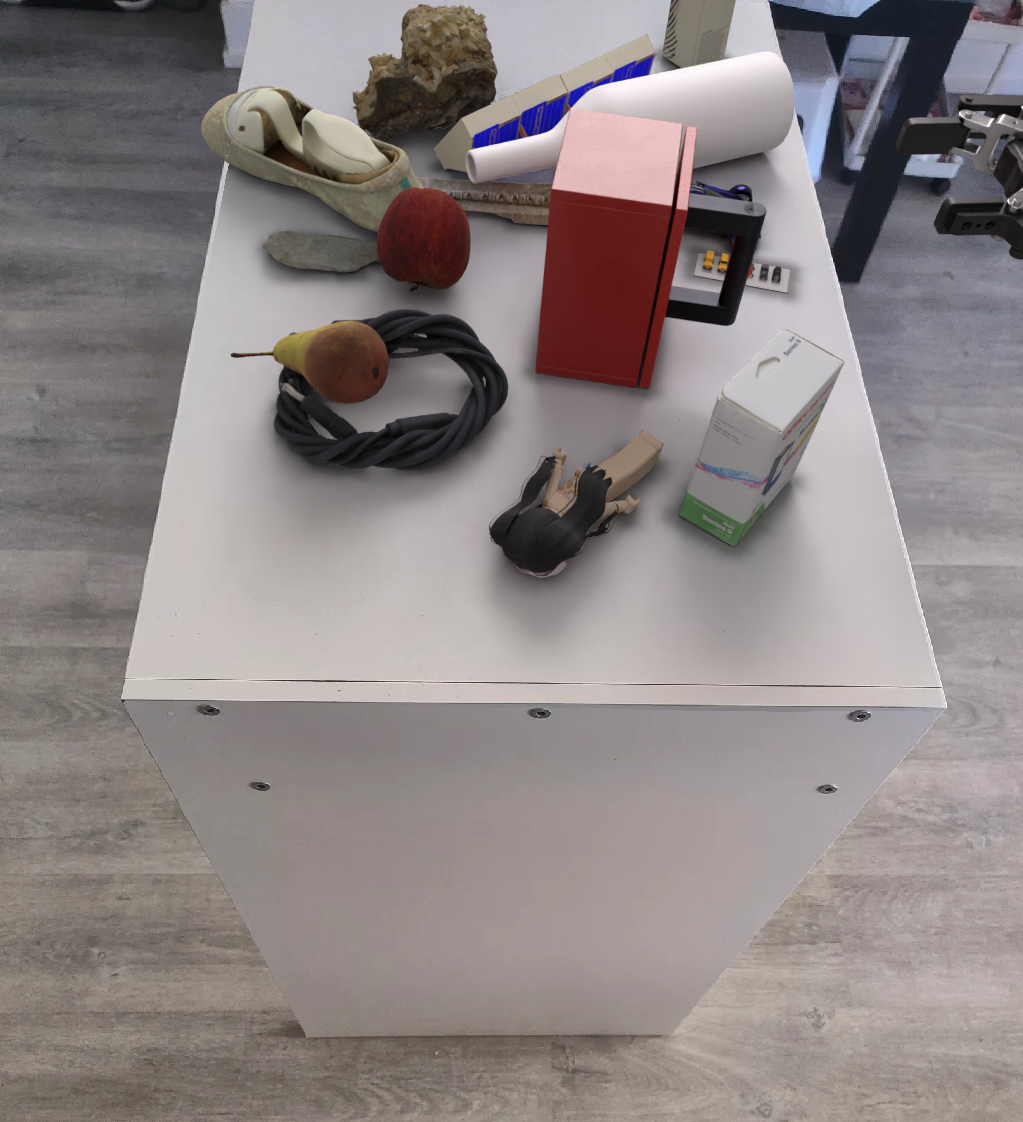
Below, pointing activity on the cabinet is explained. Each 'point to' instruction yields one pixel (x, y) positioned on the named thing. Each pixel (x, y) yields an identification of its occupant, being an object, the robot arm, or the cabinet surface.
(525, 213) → the fossil
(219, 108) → the ballet flat
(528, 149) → the bottle
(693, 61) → the box
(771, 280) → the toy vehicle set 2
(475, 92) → the mineral specimen
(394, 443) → the cable
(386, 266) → the apple
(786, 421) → the ink box
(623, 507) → the toy figure
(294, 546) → the cabinet surface
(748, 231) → the door
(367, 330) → the fruit
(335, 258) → the stone
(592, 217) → the cabinet
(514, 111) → the building
